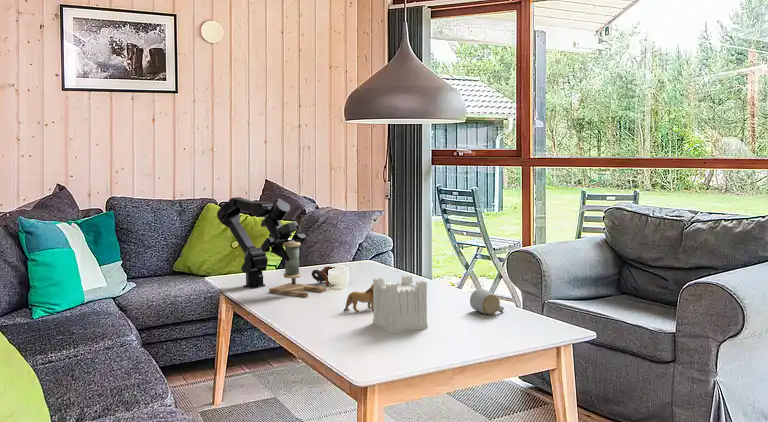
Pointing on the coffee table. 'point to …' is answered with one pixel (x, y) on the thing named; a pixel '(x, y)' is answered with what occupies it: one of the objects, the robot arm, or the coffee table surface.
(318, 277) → the winged dragon figurine
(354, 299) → the lion figurine
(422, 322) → the castle model
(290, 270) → the cord spool
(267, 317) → the coffee table surface
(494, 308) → the ceramic mug
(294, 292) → the wooden plank structure
